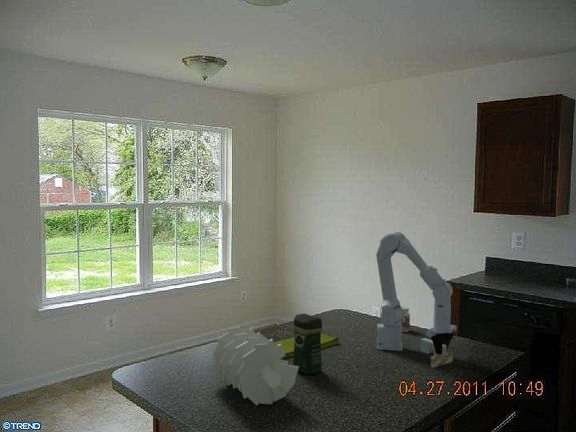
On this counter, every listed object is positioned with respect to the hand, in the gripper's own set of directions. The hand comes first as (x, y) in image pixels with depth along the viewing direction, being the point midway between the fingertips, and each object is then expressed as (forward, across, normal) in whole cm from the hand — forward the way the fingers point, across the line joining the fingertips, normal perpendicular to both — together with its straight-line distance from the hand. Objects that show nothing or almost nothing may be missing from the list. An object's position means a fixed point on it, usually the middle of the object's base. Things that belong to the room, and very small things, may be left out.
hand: (440, 353), depth 175 cm
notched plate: (+1, 0, +4) cm, 4 cm away
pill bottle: (+2, +13, +30) cm, 33 cm away
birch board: (+1, -6, -5) cm, 8 cm away
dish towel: (+2, -40, +37) cm, 55 cm away
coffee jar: (+2, -49, +16) cm, 51 cm away
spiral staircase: (+2, -73, +10) cm, 73 cm away
